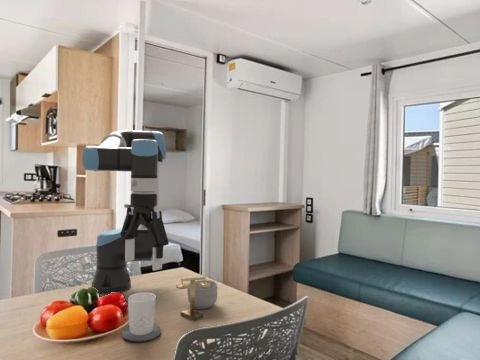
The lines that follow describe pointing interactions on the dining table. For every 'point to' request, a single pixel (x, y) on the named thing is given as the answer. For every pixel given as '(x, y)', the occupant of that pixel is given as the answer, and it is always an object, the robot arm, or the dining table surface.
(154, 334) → the dish
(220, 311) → the dining table surface
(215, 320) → the dining table surface
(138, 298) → the white cup
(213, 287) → the teacup
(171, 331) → the dining table surface
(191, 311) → the balance
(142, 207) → the robot arm
